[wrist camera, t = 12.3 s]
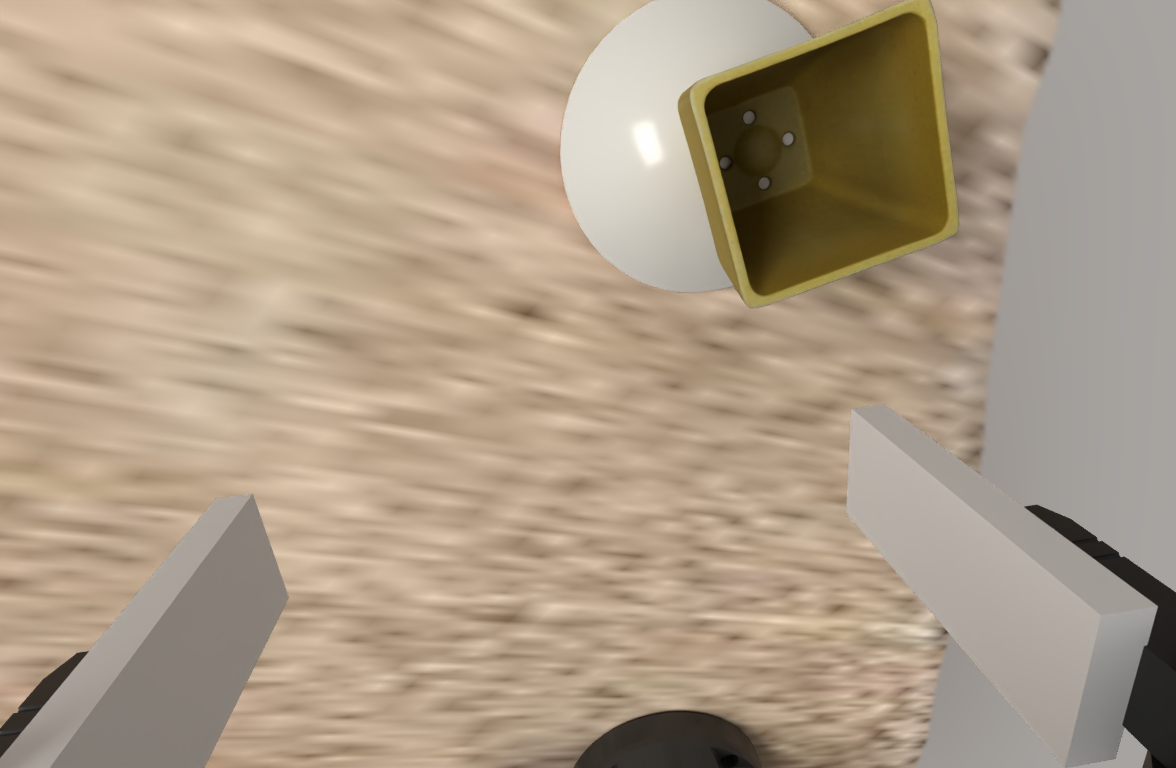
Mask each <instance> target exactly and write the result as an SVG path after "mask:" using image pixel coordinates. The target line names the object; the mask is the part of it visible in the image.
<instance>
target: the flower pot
mask: <svg viewBox="0 0 1176 768" xmlns="http://www.w3.org/2000/svg"><path fill="white" fill-rule="evenodd" d="M748 111H751V112H752V113H753V114H754V117H755V118H754V121H753V122H752V123H751V124H746V123H745V122H744V120H743V116H744V114H745V113H746V112H748ZM678 113H679V116H680V120H681V124H682V127H683V130H684V134H685V137H686V141H687V144H688V148H689V151H690V155H691V158H692V162H693V165H694V169H695V173H696V176H697V180H698V183H699V187H700V191H701V194H702V198H703V201H704V205H705V209H706V213H707V217H708V221H709V225H710V228H711V232H712V236H713V240H714V245H715V249H716V252H717V256H718V259H719V261H720V263H721V265H722V267H723V269H724V271H725V272H726V274H727V276H728V277H729V279H730V281H731V282H732V284H733V285H734V287H735V289H736V290H737V292H738V293H739V295H740V296H741V298H742V300H743V301H744V303H745V304H746V305H747V306H748V307H749V308H760V307H763V306H767V305H770V304H773V303H775V302H778V301H781V300H784V299H786V298H789V297H792V296H795V295H798V294H800V293H803V292H806V291H809V290H811V289H814V288H816V287H819V286H822V285H824V284H827V283H830V282H833V281H835V280H838V279H841V278H844V277H847V276H849V275H852V274H855V273H857V272H860V271H862V270H865V269H868V268H871V267H873V266H876V265H879V264H882V263H885V262H888V261H891V260H893V259H896V258H898V257H901V256H904V255H907V254H910V253H913V252H916V251H919V250H922V249H924V248H927V247H930V246H932V245H935V244H937V243H939V242H942V241H944V240H946V239H948V238H949V237H951V236H953V235H954V234H956V233H957V232H958V228H959V213H958V202H957V194H956V187H955V179H954V173H953V164H952V155H951V148H950V140H949V132H948V125H947V115H946V105H945V97H944V87H943V76H942V65H941V56H940V46H939V39H938V27H937V21H936V17H935V13H934V9H933V6H932V4H931V1H930V0H906V1H903V2H901V3H898V4H896V5H893V6H891V7H888V8H886V9H884V10H882V11H879V12H877V13H875V14H872V15H870V16H867V17H865V18H863V19H860V20H858V21H855V22H853V23H850V24H848V25H846V26H843V27H841V28H838V29H836V30H833V31H831V32H828V33H825V34H823V35H821V36H818V37H816V38H813V39H810V40H807V41H805V42H802V43H800V44H797V45H794V46H791V47H789V48H786V49H783V50H780V51H778V52H775V53H772V54H769V55H767V56H764V57H761V58H758V59H756V60H753V61H750V62H748V63H745V64H742V65H739V66H737V67H734V68H731V69H728V70H725V71H723V72H720V73H717V74H714V75H711V76H708V77H705V78H702V79H700V80H698V81H697V82H695V83H694V84H693V85H692V86H690V87H689V88H688V89H687V90H686V91H684V92H683V93H682V95H681V96H680V98H679V100H678ZM786 133H791V134H792V136H793V141H792V143H791V144H790V145H785V144H784V143H783V136H784V135H785V134H786ZM723 157H729V158H730V160H731V164H730V166H729V167H728V168H727V169H723V168H722V167H721V166H720V160H721V159H722V158H723ZM763 177H766V178H768V180H769V185H768V187H767V188H766V189H761V188H760V187H759V181H760V179H761V178H763Z"/></svg>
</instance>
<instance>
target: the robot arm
mask: <svg viewBox="0 0 1176 768" xmlns="http://www.w3.org/2000/svg"><path fill="white" fill-rule="evenodd" d="M846 514H847V515H848V516H849V517H850V519H851V520H852V521H853V522H854V523H855V524H856V526H857V527H858V528H859V529H860V530H861V531H862V533H863V534H864V535H865V536H866V537H867V538H868V540H869V541H870V542H871V543H872V544H873V545H874V547H875V548H876V549H877V550H878V551H879V552H880V553H881V555H882V556H883V557H884V558H885V559H886V560H887V562H888V563H889V564H890V565H891V566H892V567H893V569H894V570H895V571H896V572H897V573H898V574H899V576H900V577H901V578H902V579H903V580H904V581H905V583H906V584H907V585H908V586H909V587H910V588H911V590H912V591H913V592H914V593H915V594H916V595H917V597H918V598H919V599H920V600H921V601H922V602H923V604H924V605H925V606H926V607H927V608H928V609H929V610H930V612H931V613H932V614H933V615H934V616H935V617H936V619H937V620H938V621H939V622H940V623H941V624H942V626H943V627H944V628H945V629H946V630H947V631H948V633H949V634H950V635H951V636H952V637H953V638H954V639H955V640H956V642H957V643H958V644H959V645H960V647H961V648H962V649H963V650H964V651H965V652H966V654H967V655H968V656H969V657H970V658H971V659H972V660H973V662H974V663H975V664H976V665H977V666H978V667H979V669H980V670H981V671H982V672H983V673H984V674H985V676H986V677H987V678H988V679H989V680H990V681H991V682H992V684H993V685H994V686H995V687H996V688H997V690H998V691H999V692H1000V693H1001V694H1002V695H1003V697H1004V698H1005V699H1006V700H1007V701H1008V702H1009V704H1010V705H1011V706H1012V707H1013V708H1014V709H1015V710H1016V712H1017V713H1018V714H1019V715H1020V716H1021V717H1022V719H1023V720H1024V721H1025V722H1026V723H1027V724H1028V726H1029V727H1030V728H1031V729H1032V730H1033V731H1034V733H1036V735H1037V736H1038V737H1039V738H1040V740H1041V741H1042V742H1043V743H1044V744H1045V745H1046V746H1047V748H1048V749H1049V750H1050V751H1051V752H1052V753H1053V755H1054V756H1055V757H1056V758H1057V759H1058V760H1059V762H1060V763H1061V764H1062V765H1063V766H1064V767H1065V768H1067V767H1071V766H1078V765H1083V764H1089V763H1095V762H1101V761H1106V760H1112V759H1115V758H1116V755H1117V752H1118V748H1119V744H1120V740H1121V737H1122V734H1123V730H1124V727H1125V728H1126V729H1127V730H1128V731H1129V732H1130V733H1131V734H1132V735H1133V736H1134V737H1135V738H1136V739H1137V740H1138V741H1139V742H1140V743H1141V744H1142V745H1143V746H1144V747H1145V748H1146V749H1147V750H1148V751H1147V755H1146V758H1145V761H1144V764H1143V768H1176V592H1174V591H1173V590H1171V589H1170V588H1169V587H1167V586H1166V585H1164V584H1163V583H1161V582H1160V581H1159V580H1157V579H1155V578H1154V577H1153V576H1151V575H1150V574H1149V573H1147V572H1146V571H1144V570H1143V569H1141V568H1140V567H1138V566H1137V565H1136V564H1134V563H1133V562H1131V561H1130V560H1129V559H1127V558H1126V557H1120V556H1119V552H1117V551H1116V550H1114V549H1113V548H1111V547H1110V546H1108V545H1107V544H1106V543H1104V542H1103V541H1100V542H1099V541H1098V540H1097V537H1096V536H1094V535H1093V534H1091V533H1090V532H1088V531H1087V530H1086V529H1084V528H1083V527H1081V526H1080V525H1078V524H1077V523H1076V522H1074V521H1073V520H1071V519H1069V518H1067V517H1065V516H1062V515H1060V514H1058V513H1055V512H1053V511H1050V510H1048V509H1046V508H1043V507H1041V506H1039V505H1032V506H1026V507H1023V506H1021V505H1020V504H1019V503H1017V502H1016V501H1015V500H1013V499H1012V498H1011V497H1009V496H1008V495H1007V494H1005V493H1004V492H1003V491H1001V490H1000V489H999V488H997V487H996V486H994V485H993V484H992V483H991V482H989V481H988V480H986V479H985V478H984V477H982V476H981V475H980V474H978V473H977V472H976V471H974V470H973V469H972V468H970V467H969V466H968V465H966V464H965V463H964V462H962V461H961V460H960V459H958V458H957V457H955V456H954V455H953V454H951V453H950V452H949V451H947V450H946V449H945V448H943V447H942V446H941V445H939V444H938V443H937V442H935V441H934V440H933V439H931V438H930V437H928V436H927V435H926V434H924V433H923V432H922V431H920V430H919V429H918V428H916V427H915V426H914V425H912V424H911V423H910V422H908V421H907V420H906V419H904V418H903V417H901V416H900V415H899V414H897V413H896V412H895V411H893V410H892V409H891V408H889V407H888V406H887V405H885V404H881V405H874V406H867V407H860V408H853V409H851V428H850V448H849V468H848V488H847V508H846ZM288 598H289V597H288V594H287V591H286V588H285V585H284V582H283V579H282V576H281V574H280V571H279V568H278V565H277V562H276V559H275V556H274V553H273V551H272V548H271V545H270V542H269V539H268V536H267V533H266V531H265V528H264V525H263V522H262V519H261V516H260V513H259V510H258V508H257V505H256V502H255V499H254V496H253V494H247V495H240V496H233V497H226V498H219V499H215V501H214V502H213V503H212V504H211V505H210V507H209V508H208V509H207V510H206V511H205V513H204V514H203V515H202V516H201V517H200V519H199V520H198V521H197V522H196V523H195V525H194V526H193V527H192V528H191V529H190V531H189V532H188V533H187V534H186V535H185V537H184V538H183V539H182V540H181V541H180V543H179V544H178V545H177V546H176V547H175V549H174V550H173V551H172V552H171V553H170V555H169V556H168V557H167V558H166V559H165V561H164V562H163V563H162V564H161V565H160V567H159V568H158V569H157V570H156V571H155V573H154V574H153V575H152V576H151V578H150V579H149V580H148V581H147V582H146V584H145V585H144V586H143V587H142V588H141V590H140V591H139V592H138V593H137V594H136V596H135V597H134V598H133V599H132V600H131V602H130V603H129V604H128V605H127V606H126V608H125V609H124V610H123V611H122V612H121V614H120V615H119V616H118V617H117V618H116V620H115V621H114V622H113V623H112V624H111V626H110V627H109V628H108V629H107V630H106V632H105V633H104V634H103V635H102V636H101V638H100V639H99V640H98V641H97V642H96V644H95V645H94V646H93V647H92V648H91V650H90V651H87V652H80V653H77V654H75V655H74V656H73V657H71V658H70V659H69V660H68V661H66V662H65V663H64V664H62V665H61V666H60V667H59V668H57V669H56V670H55V671H53V672H52V673H51V674H49V675H48V676H47V677H46V678H44V679H43V680H42V681H41V682H40V684H39V685H38V686H37V687H36V688H35V689H34V690H33V692H32V693H31V694H30V695H29V696H28V697H27V698H26V700H25V701H24V702H23V703H22V704H21V705H20V706H19V708H18V709H19V711H18V713H14V714H13V715H12V716H11V717H10V718H9V719H8V720H7V721H6V723H5V724H4V725H3V726H2V727H1V728H0V768H204V767H205V765H206V763H207V761H208V759H209V757H210V755H211V753H212V751H213V749H214V747H215V745H216V743H217V741H218V739H219V737H220V735H221V733H222V731H223V729H224V727H225V725H226V723H227V721H228V719H229V717H230V715H231V713H232V711H233V709H234V707H235V705H236V703H237V701H238V699H239V697H240V695H241V693H242V691H243V689H244V687H245V685H246V683H247V681H248V679H249V677H250V675H251V673H252V671H253V669H254V667H255V665H256V663H257V661H258V659H259V657H260V655H261V653H262V651H263V649H264V647H265V645H266V643H267V641H268V639H269V637H270V635H271V633H272V631H273V629H274V627H275V625H276V623H277V621H278V619H279V617H280V615H281V612H282V610H283V608H284V606H285V604H286V602H287V600H288ZM574 768H762V766H761V764H760V761H759V758H758V755H757V753H756V750H755V748H754V746H753V744H752V743H751V741H750V740H749V739H748V737H747V736H746V735H745V734H744V733H743V732H741V731H740V730H739V729H738V728H736V727H735V726H733V725H731V724H730V723H728V722H726V721H723V720H721V719H718V718H715V717H712V716H708V715H704V714H698V713H688V712H673V713H662V714H656V715H651V716H647V717H643V718H639V719H636V720H633V721H631V722H628V723H626V724H623V725H621V726H619V727H617V728H615V729H613V730H612V731H610V732H608V733H607V734H605V735H604V736H602V737H601V738H599V739H598V740H597V741H596V742H594V743H593V744H592V745H591V746H590V747H589V748H588V749H587V750H586V751H585V752H584V753H583V755H582V756H581V757H580V759H579V760H578V762H577V763H576V765H575V767H574Z"/></svg>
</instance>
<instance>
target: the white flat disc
mask: <svg viewBox="0 0 1176 768" xmlns="http://www.w3.org/2000/svg"><path fill="white" fill-rule="evenodd" d="M810 39H813V38H812V37H811V36H810V34H809V33H808V32H807V31H806V30H805V29H804V27H803V26H802V25H801V24H800V23H799V22H798V21H796V20H795V19H794V18H793V17H792V16H791V15H789V14H788V13H787V12H786V11H784V10H783V9H781V8H779V7H778V6H776V5H775V4H773V3H771V2H770V1H767V0H654V1H652V2H650V3H649V4H647V5H645V6H643V7H642V8H640V9H638V10H636V11H635V12H633V13H632V14H631V15H629V16H628V17H627V18H625V19H624V20H623V21H621V22H620V23H619V24H618V25H617V26H616V27H615V28H614V29H613V30H612V31H611V32H610V33H609V34H608V35H607V36H606V37H605V38H604V39H603V40H602V41H601V42H600V43H599V44H598V45H597V47H596V48H595V49H594V51H593V52H592V53H591V54H590V56H589V57H588V58H587V60H586V62H585V63H584V65H583V67H582V69H581V70H580V72H579V74H578V75H577V78H576V80H575V82H574V85H573V87H572V89H571V92H570V94H569V97H568V100H567V104H566V107H565V111H564V114H563V120H562V126H561V132H560V165H561V175H562V179H563V184H564V189H565V193H566V195H567V198H568V201H569V204H570V207H571V209H572V211H573V213H574V215H575V217H576V219H577V221H578V223H579V225H580V227H581V229H582V230H583V232H584V233H585V235H586V236H587V238H588V239H589V241H590V242H591V244H592V245H593V246H594V247H595V248H596V249H597V250H598V251H599V253H600V254H601V255H602V256H603V257H604V258H605V259H606V260H608V261H609V262H610V263H611V264H612V265H613V266H615V267H616V268H617V269H619V270H620V271H622V272H623V273H625V274H626V275H628V276H630V277H631V278H633V279H636V280H638V281H640V282H642V283H644V284H646V285H650V286H653V287H656V288H659V289H663V290H669V291H675V292H690V293H697V292H707V291H715V290H719V289H723V288H728V287H731V286H734V285H733V284H732V282H731V281H730V279H729V277H728V276H727V274H726V272H725V271H724V269H723V267H722V265H721V263H720V261H719V259H718V256H717V252H716V249H715V245H714V240H713V236H712V232H711V228H710V225H709V221H708V217H707V213H706V209H705V205H704V201H703V198H702V194H701V191H700V187H699V183H698V180H697V176H696V173H695V169H694V165H693V162H692V158H691V155H690V151H689V148H688V144H687V141H686V137H685V134H684V130H683V127H682V124H681V120H680V116H679V113H678V100H679V98H680V96H681V95H682V93H683V92H684V91H686V90H687V89H688V88H689V87H690V86H692V85H693V84H694V83H695V82H697V81H698V80H700V79H702V78H705V77H708V76H711V75H714V74H717V73H720V72H723V71H725V70H728V69H731V68H734V67H737V66H739V65H742V64H745V63H748V62H750V61H753V60H756V59H758V58H761V57H764V56H767V55H769V54H772V53H775V52H778V51H780V50H783V49H786V48H789V47H791V46H794V45H797V44H800V43H802V42H805V41H807V40H810ZM754 118H755V117H754V114H753V113H752V112H751V111H748V112H746V113H745V114H744V116H743V120H744V122H745V123H746V124H751V123H752V122H753V121H754ZM792 141H793V136H792V134H791V133H786V134H785V135H784V136H783V143H784V144H785V145H790V144H791V143H792ZM730 164H731V160H730V158H729V157H723V158H722V159H721V160H720V166H721V167H722V168H723V169H727V168H728V167H729V166H730ZM768 185H769V180H768V178H766V177H763V178H761V179H760V181H759V187H760V188H761V189H766V188H767V187H768Z"/></svg>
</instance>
